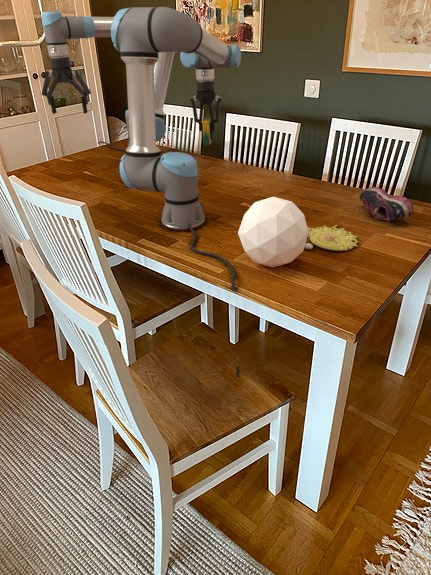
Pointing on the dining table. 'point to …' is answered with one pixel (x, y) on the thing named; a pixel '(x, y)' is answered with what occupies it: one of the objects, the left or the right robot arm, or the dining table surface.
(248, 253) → the sphere
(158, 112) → the left robot arm
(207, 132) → the crayon box
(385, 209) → the athletic shoe
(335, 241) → the decorative object
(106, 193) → the dining table surface
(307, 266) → the dining table surface
